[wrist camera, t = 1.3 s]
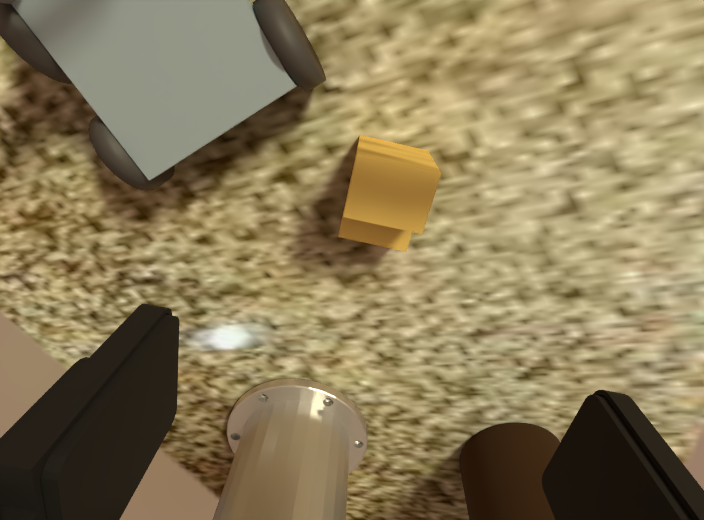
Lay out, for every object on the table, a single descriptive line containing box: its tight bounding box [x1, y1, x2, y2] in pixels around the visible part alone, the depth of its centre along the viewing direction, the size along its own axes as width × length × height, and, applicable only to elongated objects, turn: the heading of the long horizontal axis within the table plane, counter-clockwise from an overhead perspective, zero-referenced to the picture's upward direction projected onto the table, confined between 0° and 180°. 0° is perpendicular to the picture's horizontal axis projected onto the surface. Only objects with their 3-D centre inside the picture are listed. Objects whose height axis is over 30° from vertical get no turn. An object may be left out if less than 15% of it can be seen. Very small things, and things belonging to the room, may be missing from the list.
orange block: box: [338, 135, 441, 251], centre depth 26 cm, size 6×4×6 cm
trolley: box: [0, 0, 326, 190], centre depth 20 cm, size 12×13×10 cm
